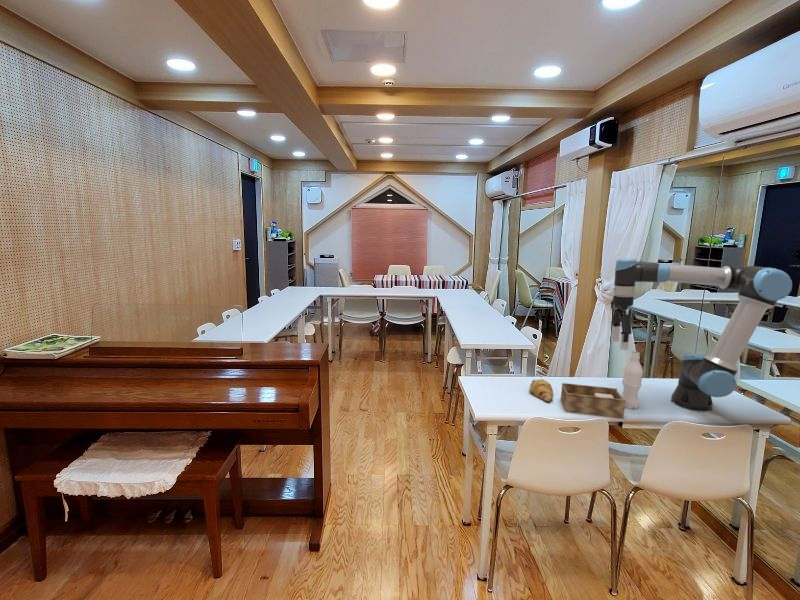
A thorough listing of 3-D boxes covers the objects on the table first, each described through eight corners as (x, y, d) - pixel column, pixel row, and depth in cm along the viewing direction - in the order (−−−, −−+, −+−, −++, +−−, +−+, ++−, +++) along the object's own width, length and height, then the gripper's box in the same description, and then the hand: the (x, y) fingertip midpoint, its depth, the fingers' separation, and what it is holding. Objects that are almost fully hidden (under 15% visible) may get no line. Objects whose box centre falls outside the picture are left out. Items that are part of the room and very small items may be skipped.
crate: (614, 407, 178) (616, 388, 176) (623, 420, 165) (625, 400, 164) (560, 401, 183) (562, 382, 181) (564, 413, 170) (566, 394, 169)
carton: (610, 406, 177) (611, 394, 176) (616, 416, 167) (618, 403, 166) (593, 404, 178) (594, 392, 177) (598, 414, 169) (599, 401, 168)
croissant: (554, 411, 181) (564, 396, 180) (535, 400, 180) (545, 385, 179) (538, 391, 202) (547, 378, 201) (521, 382, 201) (529, 368, 200)
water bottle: (638, 407, 179) (645, 351, 175) (638, 413, 173) (645, 355, 169) (619, 403, 183) (626, 349, 179) (618, 409, 177) (625, 352, 172)
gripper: (606, 291, 184) (602, 337, 187) (622, 300, 160) (617, 352, 164) (624, 291, 182) (620, 338, 186) (643, 300, 158) (638, 353, 162)
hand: (619, 345), depth 175 cm, fingers open, 13 cm apart
